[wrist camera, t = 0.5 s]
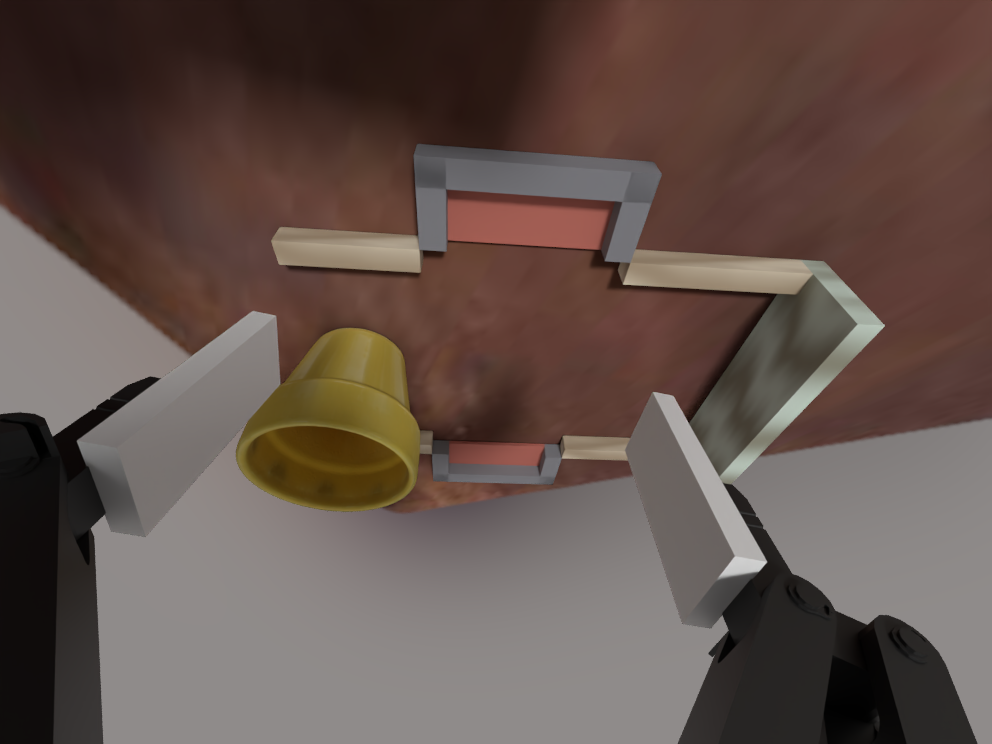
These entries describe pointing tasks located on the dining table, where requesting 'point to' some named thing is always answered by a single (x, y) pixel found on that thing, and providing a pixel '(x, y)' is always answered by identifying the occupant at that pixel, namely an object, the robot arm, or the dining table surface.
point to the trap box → (770, 346)
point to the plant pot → (337, 428)
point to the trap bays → (525, 221)
